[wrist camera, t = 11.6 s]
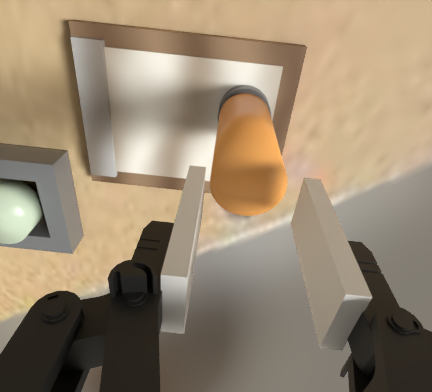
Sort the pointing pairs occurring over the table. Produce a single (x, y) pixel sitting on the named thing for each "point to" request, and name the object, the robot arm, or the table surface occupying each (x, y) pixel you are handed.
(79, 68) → the board
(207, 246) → the table surface
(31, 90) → the table surface
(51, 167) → the button housing
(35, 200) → the button
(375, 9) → the table surface
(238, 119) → the marker
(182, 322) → the robot arm
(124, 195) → the table surface
